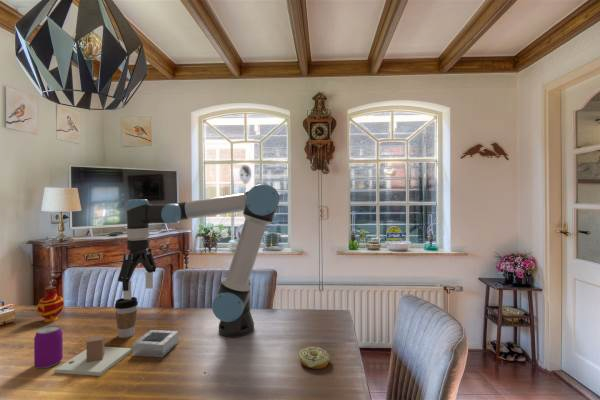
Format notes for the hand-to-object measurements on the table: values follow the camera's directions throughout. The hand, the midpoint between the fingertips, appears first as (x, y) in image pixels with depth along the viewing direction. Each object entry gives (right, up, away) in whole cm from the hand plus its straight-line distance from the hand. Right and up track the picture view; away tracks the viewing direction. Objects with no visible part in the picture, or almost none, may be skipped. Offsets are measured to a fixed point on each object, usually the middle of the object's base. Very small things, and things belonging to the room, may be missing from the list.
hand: (138, 293), depth 123 cm
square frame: (+8, -20, -3) cm, 22 cm away
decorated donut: (+68, -21, -12) cm, 72 cm away
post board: (-9, -20, -13) cm, 25 cm away
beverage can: (-24, -20, -14) cm, 34 cm away
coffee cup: (-10, -20, +9) cm, 24 cm away
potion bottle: (-53, -20, +24) cm, 62 cm away
